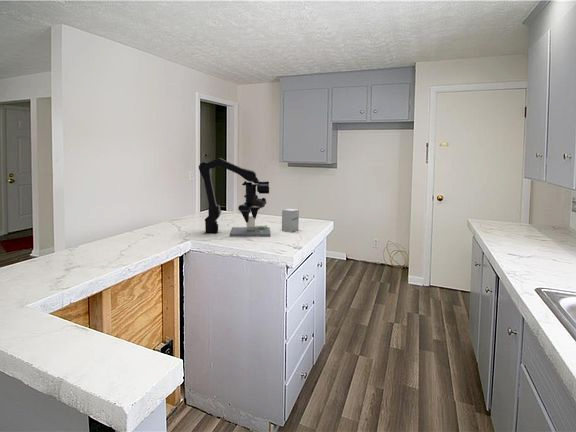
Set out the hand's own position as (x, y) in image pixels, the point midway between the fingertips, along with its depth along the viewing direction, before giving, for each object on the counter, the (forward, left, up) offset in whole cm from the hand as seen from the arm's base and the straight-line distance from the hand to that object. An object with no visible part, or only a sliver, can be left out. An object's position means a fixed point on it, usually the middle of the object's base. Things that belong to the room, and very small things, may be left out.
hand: (250, 221), depth 207 cm
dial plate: (0, 0, -7) cm, 7 cm away
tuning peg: (+4, +1, -5) cm, 7 cm away
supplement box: (+23, +7, -7) cm, 25 cm away
